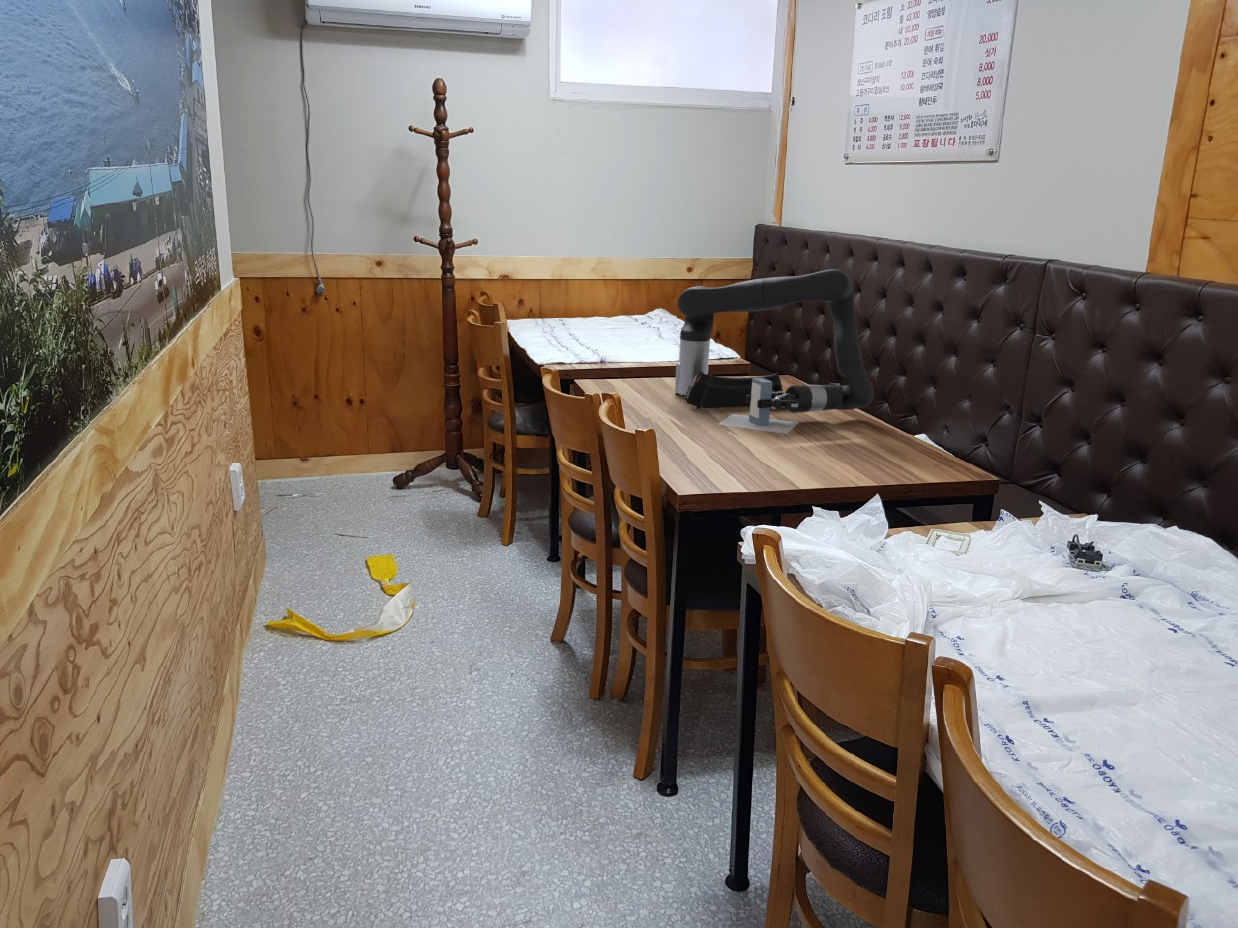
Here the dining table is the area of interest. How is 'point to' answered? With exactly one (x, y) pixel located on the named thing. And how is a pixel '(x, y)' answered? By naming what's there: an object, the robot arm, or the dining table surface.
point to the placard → (760, 392)
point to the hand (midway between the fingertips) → (752, 401)
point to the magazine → (724, 390)
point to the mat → (774, 426)
